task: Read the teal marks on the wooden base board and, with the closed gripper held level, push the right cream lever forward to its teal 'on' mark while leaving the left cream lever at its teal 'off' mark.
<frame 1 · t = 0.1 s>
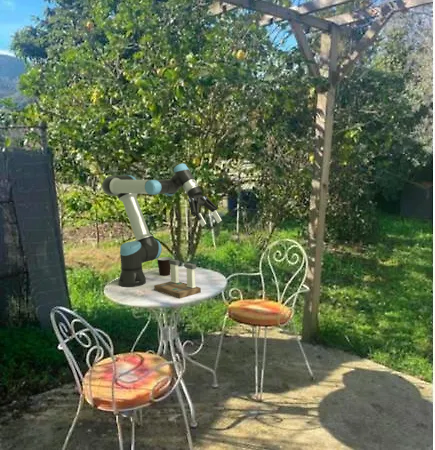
hand: (212, 223, 230), 36 cm above the table, tool tilted 35°, fingers open, 13 cm apart
lever 1: (174, 271, 241), point 9 cm above the table, slide at 0.0 cm
wooden base board: (177, 291, 235), on the table
lever 2: (190, 275, 231), point 9 cm above the table, slide at 0.0 cm
coffee mug: (165, 274, 272), on the table
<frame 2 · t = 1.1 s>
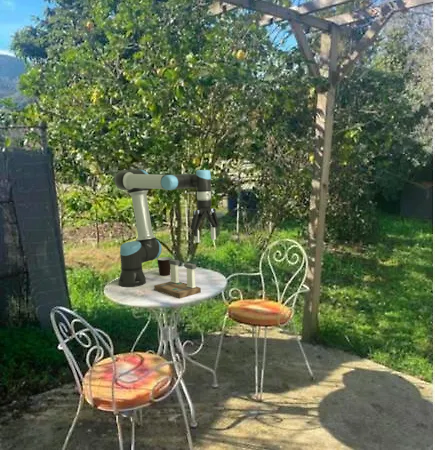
hand: (205, 240, 235), 26 cm above the table, tool pointing down, fingers open, 11 cm apart
nothing on the table moved.
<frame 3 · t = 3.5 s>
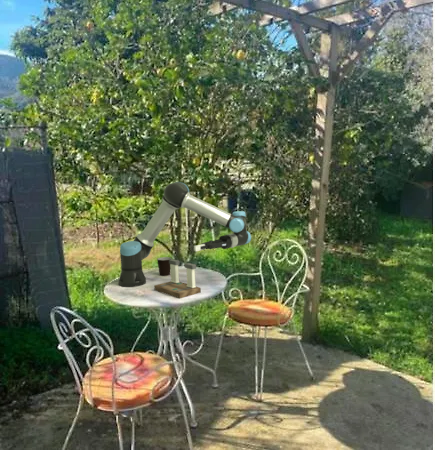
hand: (194, 248, 232), 23 cm above the table, tool horizontal, fingers closed
nothing on the table moved.
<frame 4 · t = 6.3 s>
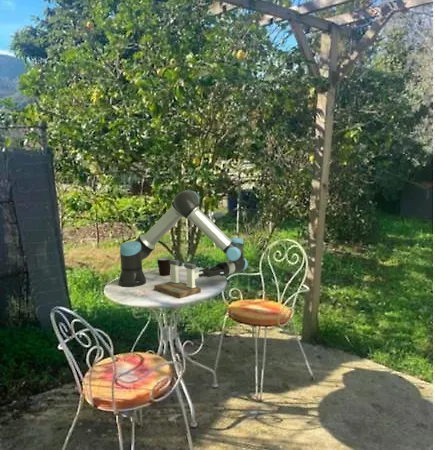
hand: (193, 276, 232), 8 cm above the table, tool horizontal, fingers closed
lever 2: (190, 275, 231), point 9 cm above the table, slide at 0.1 cm, touching gripper
everything else where it was.
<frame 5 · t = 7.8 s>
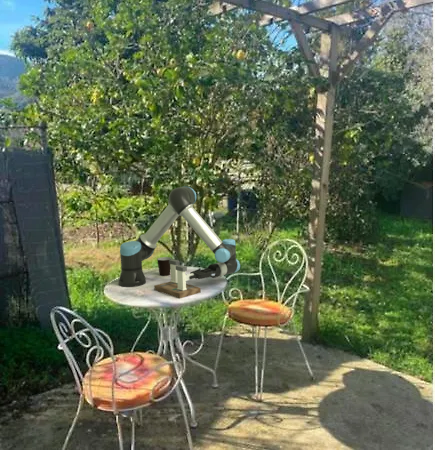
hand: (183, 278, 228), 8 cm above the table, tool horizontal, fingers closed
lever 2: (181, 277, 227), point 9 cm above the table, slide at 6.2 cm, touching gripper
everything else where it was.
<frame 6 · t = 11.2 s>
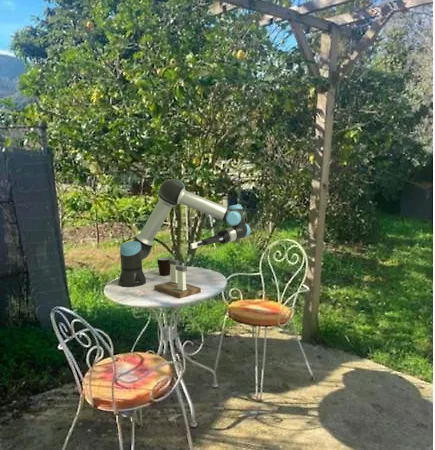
hand: (191, 246, 234), 24 cm above the table, tool horizontal, fingers closed
lever 2: (181, 277, 227), point 9 cm above the table, slide at 6.2 cm
everything else where it was.
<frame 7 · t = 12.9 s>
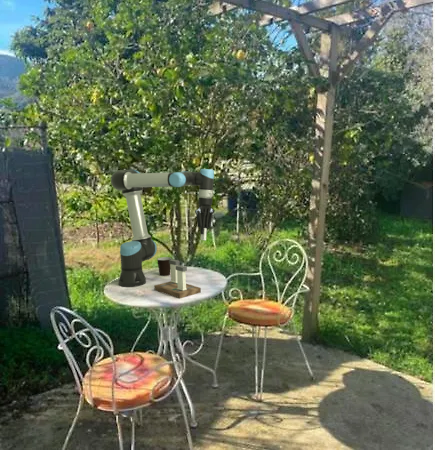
hand: (203, 239, 245), 25 cm above the table, tool pointing down, fingers closed
nothing on the table moved.
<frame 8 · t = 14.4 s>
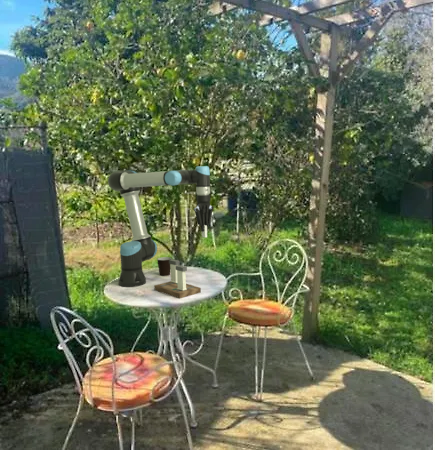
hand: (204, 237, 245), 26 cm above the table, tool pointing down, fingers closed
nothing on the table moved.
at the end: lever 2 slide at 6.2 cm; lever 1 slide at 0.0 cm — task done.
